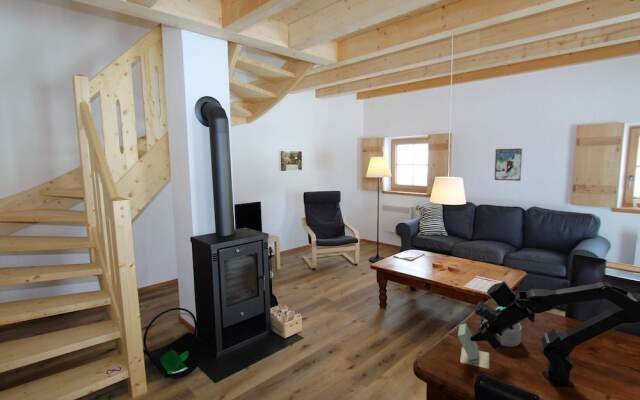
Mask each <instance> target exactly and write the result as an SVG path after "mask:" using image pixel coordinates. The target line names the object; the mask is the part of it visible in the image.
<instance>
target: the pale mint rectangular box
mask: <svg viewBox="0 0 640 400" xmlns="http://www.w3.org/2000/svg"><path fill="white" fill-rule="evenodd" d="M458 326H459V327H458V332H457V338H458V339H459V341H460V343H461V344H462V347H464V349H465V351H466V353H467V355H468V357H469V359H470V362H471V363H472V362H477V361H478V359H479V351H480V348H479V346H478V344H477V341H471V339H470V338H471V336H472V335H473V334H472V332H471V330H470V329H469V325H468V324H467V323H462V324H459V325H458Z"/></svg>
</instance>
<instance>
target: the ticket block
mask: <svg viewBox="0 0 640 400" xmlns="http://www.w3.org/2000/svg"><path fill="white" fill-rule="evenodd" d="M460 351H461V352H460V353H461V354H460V359H459V361H460V362H459V363H461V364H466V365H471V366H475V367H479V368H484V369H488V370H489V369H490V352H487V351H482V350H479V359H478V361H477V362H472V363H471V362H470V359H469V357H468V355H467V353H466V351H465V349H464V347H463V346H462V347H461V350H460Z"/></svg>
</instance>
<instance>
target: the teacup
mask: <svg viewBox="0 0 640 400" xmlns="http://www.w3.org/2000/svg"><path fill="white" fill-rule="evenodd" d="M513 328H514V329H512V330H510V329H507V330H506V331H504V332H503V335H502V336H500V335H499V334H498V333H497V335H498V336H499V337H500V338H501V346H504V347H509V348H511V347H512V348H513V347H514V348H515V347H517V346H518V345H520V344H521V341H522V329H523V328H522V325H521V323H520V322H519V323H517V324H516V325H514V326H513Z"/></svg>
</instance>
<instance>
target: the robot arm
mask: <svg viewBox="0 0 640 400" xmlns="http://www.w3.org/2000/svg"><path fill="white" fill-rule="evenodd" d="M486 294H488V296H489V297H490V298H491V299H492V300H493V301H494V303H495V304H496V305H498V307H503V308H504V307H506V308H504V309H502V310H501V309H497V310H496V309H495V308H492V307H491V306H490V305H488V304H486V303H484V302H483V301H478V303H477V305H476V306H475V307H474V313H475V314H476V315H477V316H480V317H481V319H480V326H479V327H478V328H477V329H476V331H475V332H474V333H473V334H472V336H471V338H470V339H471V341H475V342H487V344H489V346H491V348H492V349H494V350H495V351H497V350H499V349H501V347H502V345H501V338H500V337H499V336H498V335H497V333H498V334H499V335H500V336H502V335H503V332H504V331H506V330H507V329H510V330H512V329H514V328H513V326H514V325H516V324H517V323H519V324H520V323H521V322H523V321H524V320H526V319H528V320H529V321H530V322H531V323H532V324H534V323H535V317H536V314H542V313H545V312H550V311H552V310H553V309H556V307H560V306H565V305H570V304H577V303H585V302H590V301H598V300H599V301H600V300H604V299H605V300H607V301H609V302H610V303H612V305H611V307H610V308H608V309H607V310H605V311H603V312H601V313H600V314H597V315H595V316H594V317H591V318H589V319H587V320H585V321H583V322H582V323H579V324H578V325H575V326H573V327H572V328H570V329H568V330H566V331H558V330H557V329H556V328H553V329H551V330H550V331H548V332H543V336H542V337H541V339H540V345H541V349H542V352H543V355H544V357H545V358H546V359H547V362H546V363H547V364H546V371H544V370H543V371H541V374H542V376H544V377H545V379H546V380H547V381H548V382H549V383H550V384H551V385H552V386H554V387H555V386H556V387H575V383H574V382H573V381H572V380H571V379H570V377H571V376H570V375H571V371H572V369H573V368H574V365H573V362H572V360H571V359H572V358H571V356H570V355H571V354H572V352H573V351H574V350H575V349H576V348H577V347H578V346H580V345H582V344H584V343H587V342H588V341H591V340H592V339H595V338H597V337H599V336H601V335H603V334H605V333H608V332H609V331H612V330H613V329H615V328H618V327H620V326H622V325H628V324H630V325H631V324H638V323H640V293H637V292H632V291H631V292H630V291H627V290H625V289H624V288H621V287H618V286H614V285H612V284H611V283H608V282H606V281H599V282H598V281H597V282H595V283H590V284H589V283H588V284H583V285H578V286H573V287H571V286H570V287H566V288H560V289H545V288H536V289H535V288H533V289H528V290H526V291H525V290H513V289H511V287H510V286H509V285H508V284H507V282H506V281H504V280H503V281H501V282H498V283H494V284H492V285H491V286H490V287H489V288H488V289H487V290H486ZM482 318H483V319H482Z"/></svg>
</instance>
